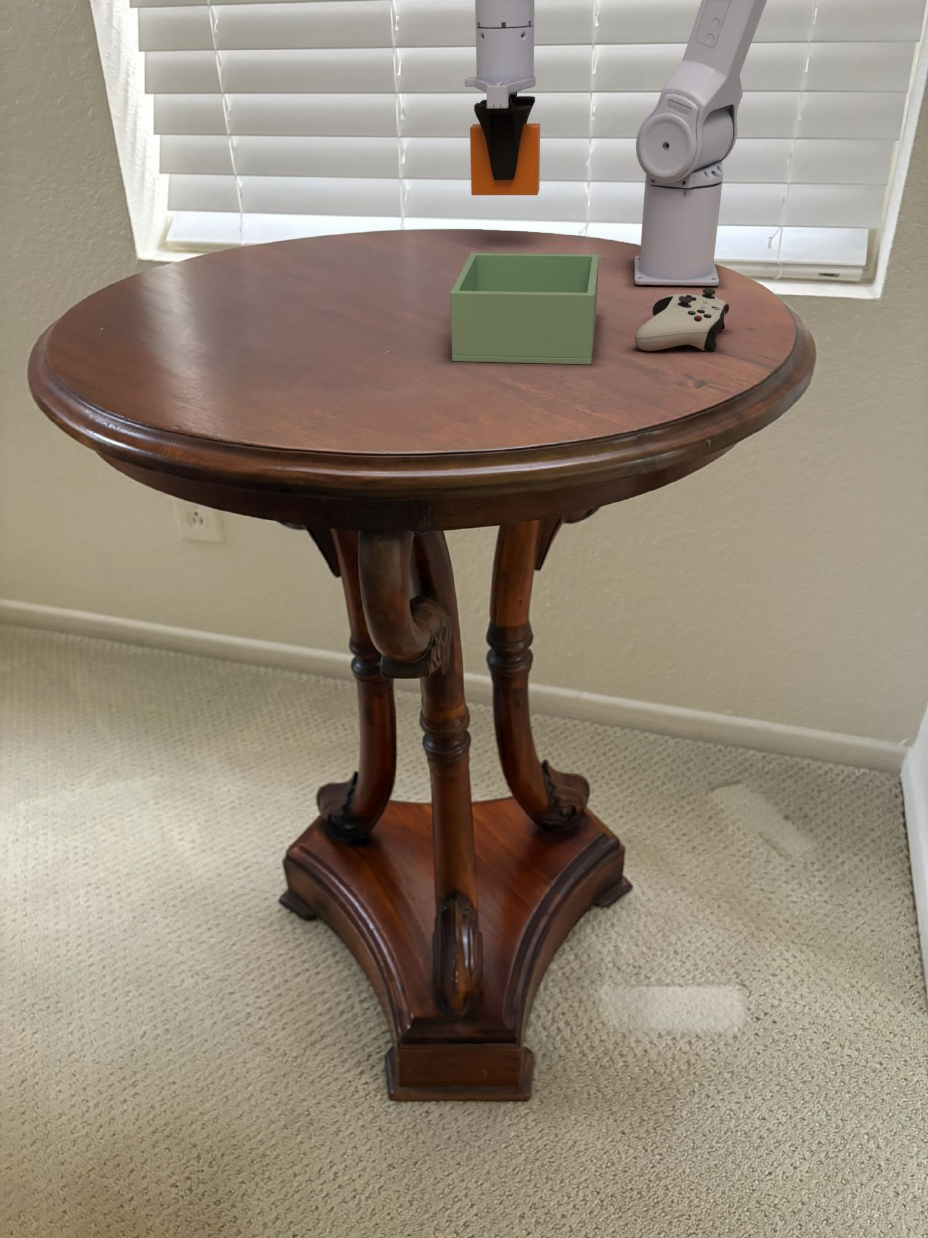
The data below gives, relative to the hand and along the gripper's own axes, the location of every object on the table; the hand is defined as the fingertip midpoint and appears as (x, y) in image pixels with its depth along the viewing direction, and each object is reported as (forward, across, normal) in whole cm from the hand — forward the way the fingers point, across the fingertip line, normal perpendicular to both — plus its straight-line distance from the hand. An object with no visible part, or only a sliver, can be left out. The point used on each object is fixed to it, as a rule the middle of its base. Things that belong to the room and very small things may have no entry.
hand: (505, 176), depth 106 cm
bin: (+8, +29, +5) cm, 30 cm away
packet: (+2, 0, 0) cm, 2 cm away
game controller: (+8, +28, +18) cm, 34 cm away
